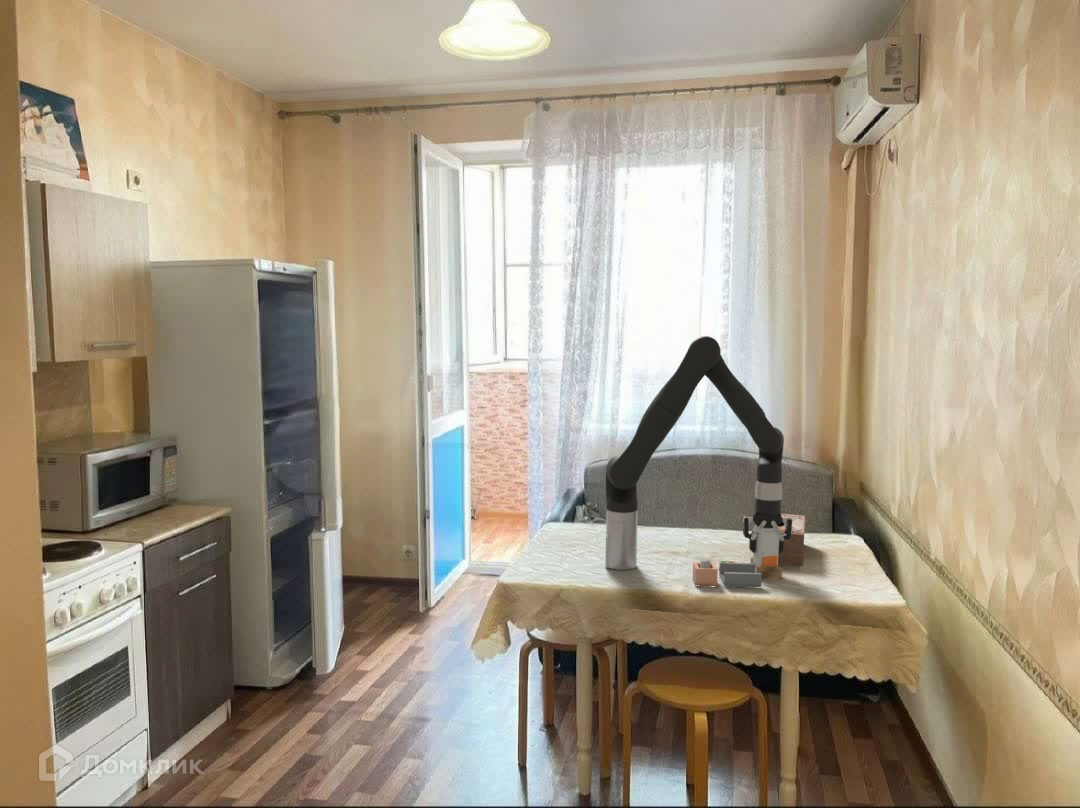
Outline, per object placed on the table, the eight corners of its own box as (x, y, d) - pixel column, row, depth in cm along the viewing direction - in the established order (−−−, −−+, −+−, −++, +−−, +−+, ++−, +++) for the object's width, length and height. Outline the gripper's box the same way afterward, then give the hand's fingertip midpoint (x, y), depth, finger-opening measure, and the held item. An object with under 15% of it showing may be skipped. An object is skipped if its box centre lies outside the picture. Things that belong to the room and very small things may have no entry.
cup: (695, 586, 229) (695, 563, 228) (692, 579, 235) (693, 557, 234) (717, 586, 229) (717, 564, 228) (713, 580, 235) (714, 558, 234)
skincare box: (759, 569, 238) (761, 529, 237) (752, 565, 243) (754, 525, 241) (778, 568, 240) (780, 528, 239) (771, 564, 244) (772, 524, 243)
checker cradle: (724, 587, 228) (724, 570, 228) (718, 575, 239) (719, 559, 238) (761, 588, 228) (761, 571, 227) (754, 576, 238) (754, 560, 237)
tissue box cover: (802, 567, 248) (804, 534, 247) (753, 562, 253) (754, 530, 252) (803, 545, 273) (805, 515, 272) (758, 541, 277) (759, 511, 276)
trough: (756, 578, 237) (757, 567, 236) (750, 567, 247) (750, 556, 247) (781, 579, 236) (782, 568, 236) (774, 568, 246) (774, 557, 246)
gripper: (745, 498, 236) (743, 555, 238) (796, 500, 235) (794, 556, 237) (740, 493, 243) (738, 548, 245) (790, 494, 242) (788, 549, 244)
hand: (766, 552), depth 241 cm, fingers closed on skincare box, 7 cm apart
